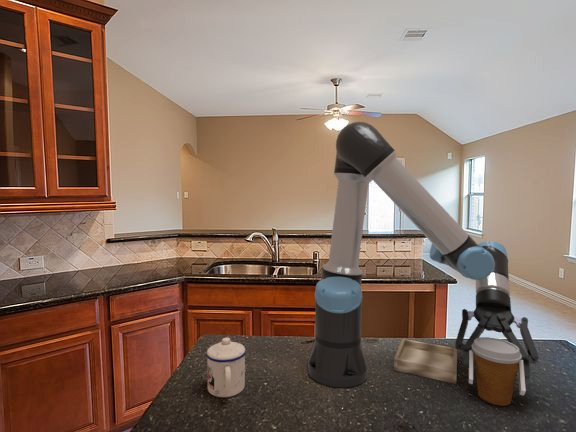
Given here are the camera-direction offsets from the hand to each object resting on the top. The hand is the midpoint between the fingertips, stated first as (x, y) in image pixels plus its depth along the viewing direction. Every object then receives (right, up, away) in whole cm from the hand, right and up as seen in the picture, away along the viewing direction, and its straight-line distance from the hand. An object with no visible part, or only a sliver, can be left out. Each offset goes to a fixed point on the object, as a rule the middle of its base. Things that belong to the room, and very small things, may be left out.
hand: (496, 387), depth 73 cm
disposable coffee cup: (+1, -4, +3) cm, 5 cm away
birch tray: (-7, -3, +19) cm, 20 cm away
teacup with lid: (-59, -4, +6) cm, 59 cm away
